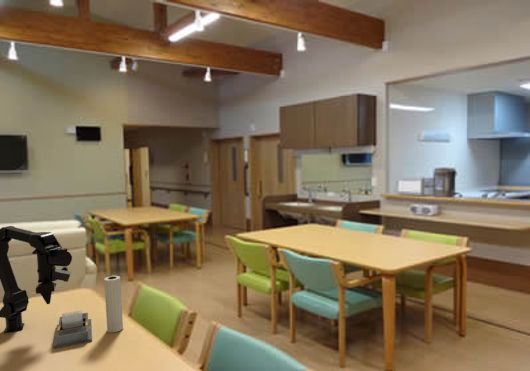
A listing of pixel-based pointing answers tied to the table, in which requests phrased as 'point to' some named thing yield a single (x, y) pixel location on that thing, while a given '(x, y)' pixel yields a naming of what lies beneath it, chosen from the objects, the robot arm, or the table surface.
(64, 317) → the plain gray rectangular block
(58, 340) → the rack
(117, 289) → the paper towel roll
